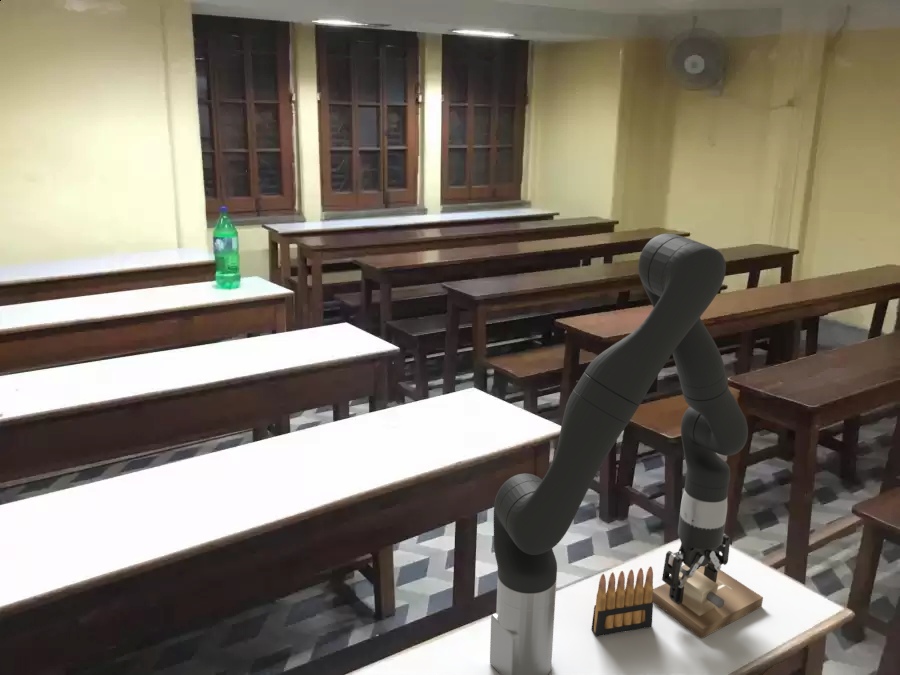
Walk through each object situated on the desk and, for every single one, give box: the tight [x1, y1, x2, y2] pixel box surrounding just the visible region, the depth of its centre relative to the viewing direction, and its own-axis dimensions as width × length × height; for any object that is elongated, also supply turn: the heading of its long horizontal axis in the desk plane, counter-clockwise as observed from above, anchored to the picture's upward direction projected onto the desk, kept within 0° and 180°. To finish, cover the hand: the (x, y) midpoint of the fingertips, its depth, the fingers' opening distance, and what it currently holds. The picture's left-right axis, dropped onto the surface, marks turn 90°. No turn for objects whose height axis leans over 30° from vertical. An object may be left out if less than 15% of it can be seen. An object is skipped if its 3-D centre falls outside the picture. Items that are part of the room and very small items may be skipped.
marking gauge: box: [669, 564, 724, 616], centre depth 132 cm, size 4×12×5 cm, turn 31°
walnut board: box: [652, 565, 764, 639], centre depth 135 cm, size 16×12×2 cm
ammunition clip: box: [591, 565, 654, 637], centre depth 127 cm, size 11×2×12 cm, turn 104°
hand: (692, 593), depth 132 cm, fingers open, 8 cm apart
